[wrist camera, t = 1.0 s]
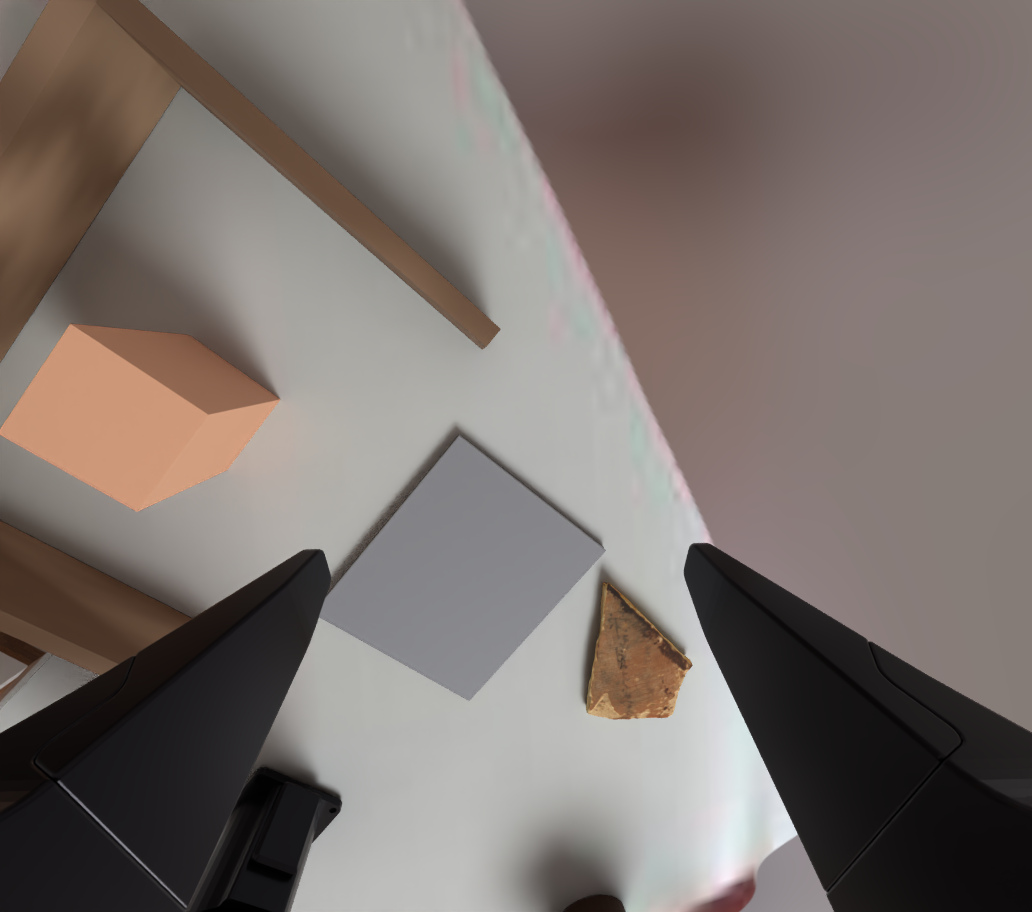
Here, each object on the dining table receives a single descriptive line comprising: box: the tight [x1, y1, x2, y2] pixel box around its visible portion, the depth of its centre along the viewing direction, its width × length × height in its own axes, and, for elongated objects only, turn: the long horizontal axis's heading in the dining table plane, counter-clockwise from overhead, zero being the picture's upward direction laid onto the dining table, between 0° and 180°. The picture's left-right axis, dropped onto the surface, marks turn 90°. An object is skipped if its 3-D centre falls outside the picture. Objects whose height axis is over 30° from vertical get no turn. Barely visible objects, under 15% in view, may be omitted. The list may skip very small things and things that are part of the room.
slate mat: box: [319, 434, 606, 701], centre depth 24 cm, size 14×12×1 cm
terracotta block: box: [0, 324, 280, 512], centre depth 17 cm, size 5×5×6 cm
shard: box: [586, 582, 693, 719], centre depth 27 cm, size 11×8×2 cm
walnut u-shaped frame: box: [0, 0, 500, 675], centre depth 18 cm, size 25×18×4 cm
